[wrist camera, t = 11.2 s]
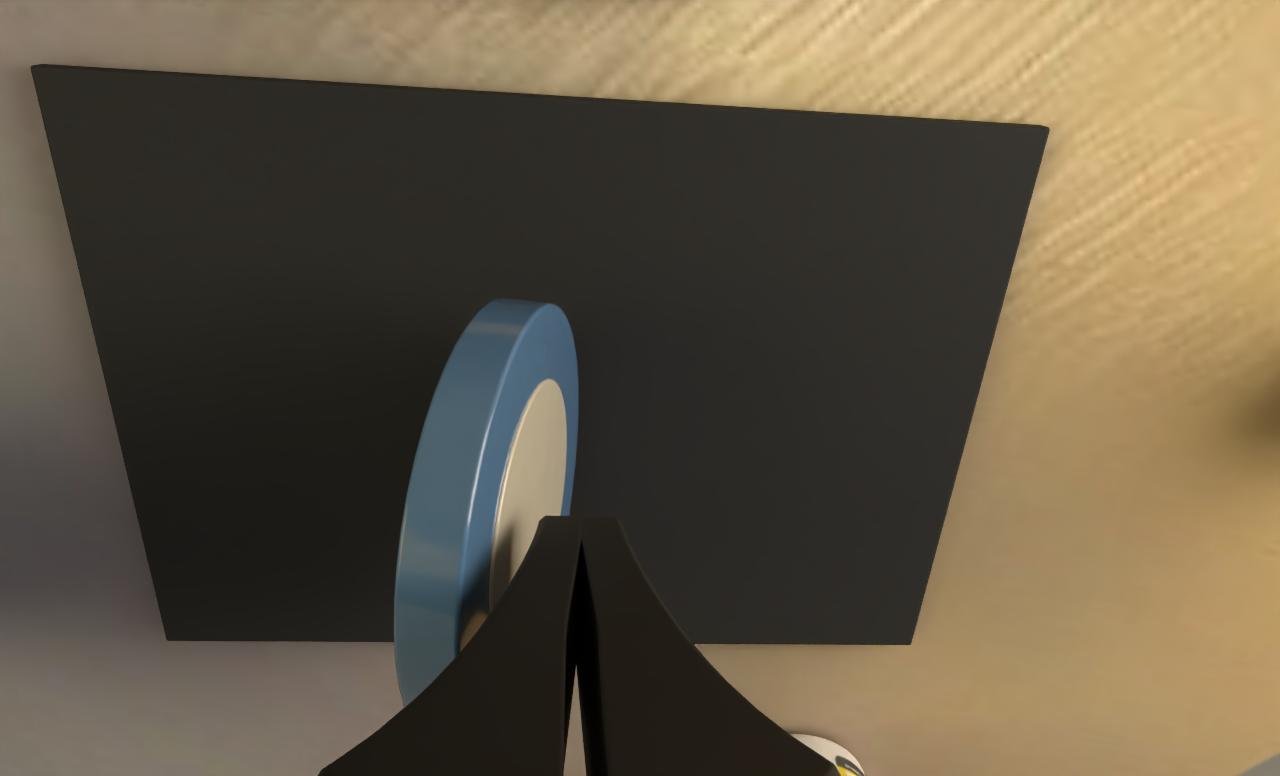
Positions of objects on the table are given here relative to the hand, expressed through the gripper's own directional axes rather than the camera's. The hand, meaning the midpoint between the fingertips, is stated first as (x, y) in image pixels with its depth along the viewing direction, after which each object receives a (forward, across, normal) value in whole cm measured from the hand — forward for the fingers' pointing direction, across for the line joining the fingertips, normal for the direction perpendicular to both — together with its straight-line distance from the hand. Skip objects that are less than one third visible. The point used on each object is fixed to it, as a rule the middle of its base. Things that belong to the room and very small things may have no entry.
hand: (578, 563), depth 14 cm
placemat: (+6, 0, 0) cm, 6 cm away
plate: (+2, +1, 0) cm, 2 cm away
